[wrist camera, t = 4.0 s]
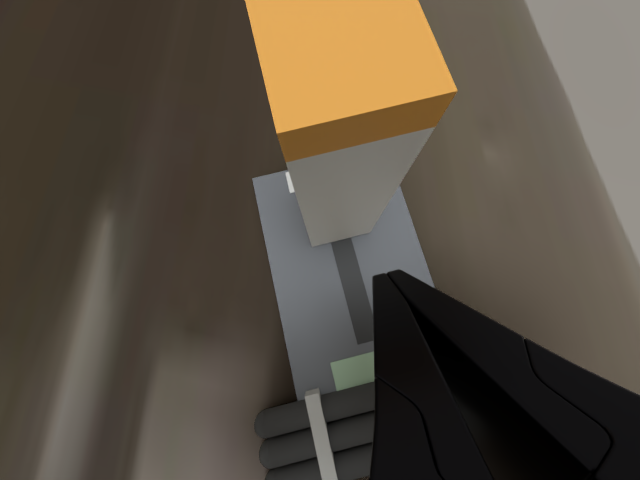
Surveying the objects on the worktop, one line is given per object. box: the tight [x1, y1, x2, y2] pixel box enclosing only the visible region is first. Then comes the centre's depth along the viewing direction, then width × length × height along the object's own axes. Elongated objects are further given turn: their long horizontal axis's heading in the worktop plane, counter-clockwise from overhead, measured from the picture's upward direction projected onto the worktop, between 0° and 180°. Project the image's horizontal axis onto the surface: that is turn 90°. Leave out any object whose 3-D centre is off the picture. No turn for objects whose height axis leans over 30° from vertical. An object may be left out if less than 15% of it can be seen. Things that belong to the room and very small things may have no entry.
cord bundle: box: [254, 382, 375, 480], centre depth 15 cm, size 15×5×2 cm, turn 104°
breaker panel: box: [252, 170, 435, 401], centre depth 18 cm, size 15×10×1 cm, turn 14°
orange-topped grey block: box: [245, 0, 457, 247], centre depth 12 cm, size 4×4×12 cm
